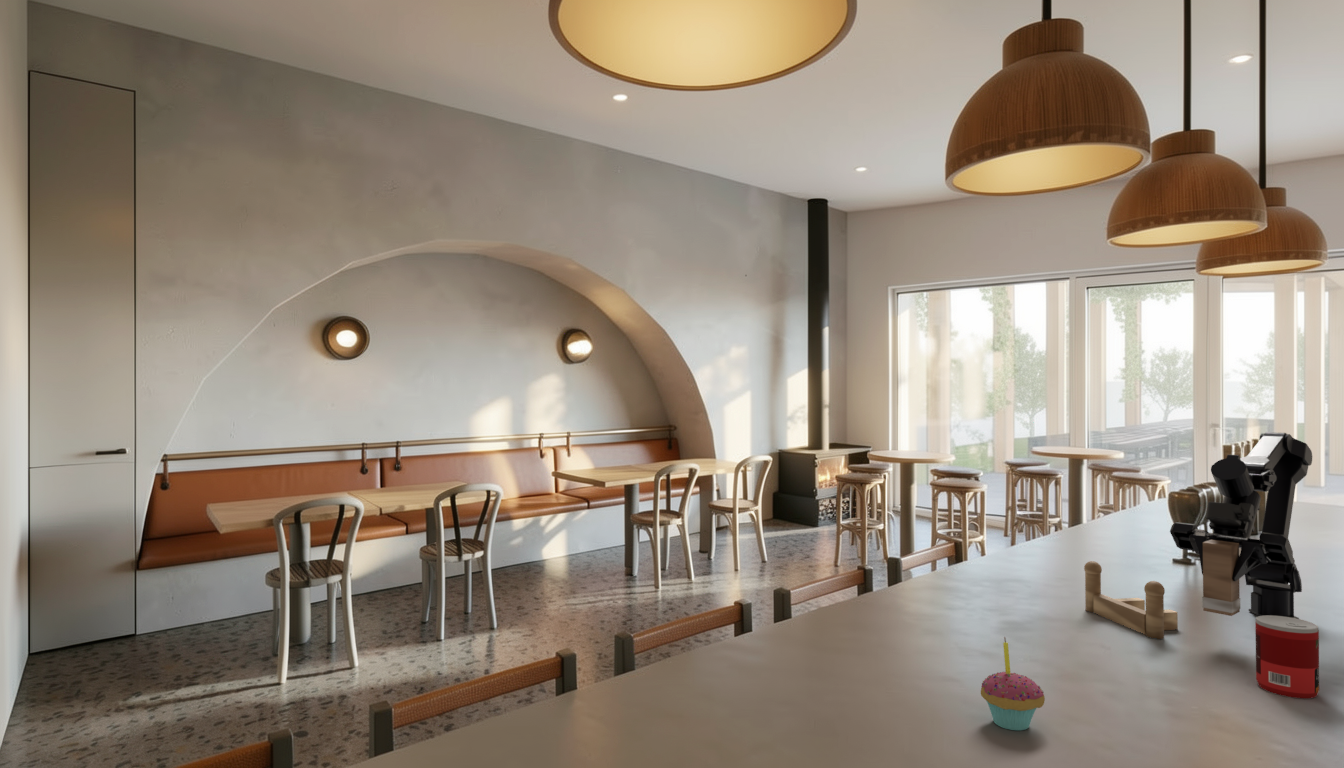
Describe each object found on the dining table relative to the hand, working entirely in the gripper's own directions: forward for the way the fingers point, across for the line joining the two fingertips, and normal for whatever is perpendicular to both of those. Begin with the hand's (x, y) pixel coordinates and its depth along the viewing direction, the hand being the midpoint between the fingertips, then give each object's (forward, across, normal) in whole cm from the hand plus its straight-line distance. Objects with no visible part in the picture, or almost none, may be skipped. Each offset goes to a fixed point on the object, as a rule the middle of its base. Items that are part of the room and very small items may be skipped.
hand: (1218, 577), depth 145 cm
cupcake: (+54, -6, -35) cm, 65 cm away
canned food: (+20, +14, -2) cm, 25 cm away
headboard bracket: (+6, -16, +12) cm, 21 cm away
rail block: (+4, 0, +6) cm, 7 cm away
